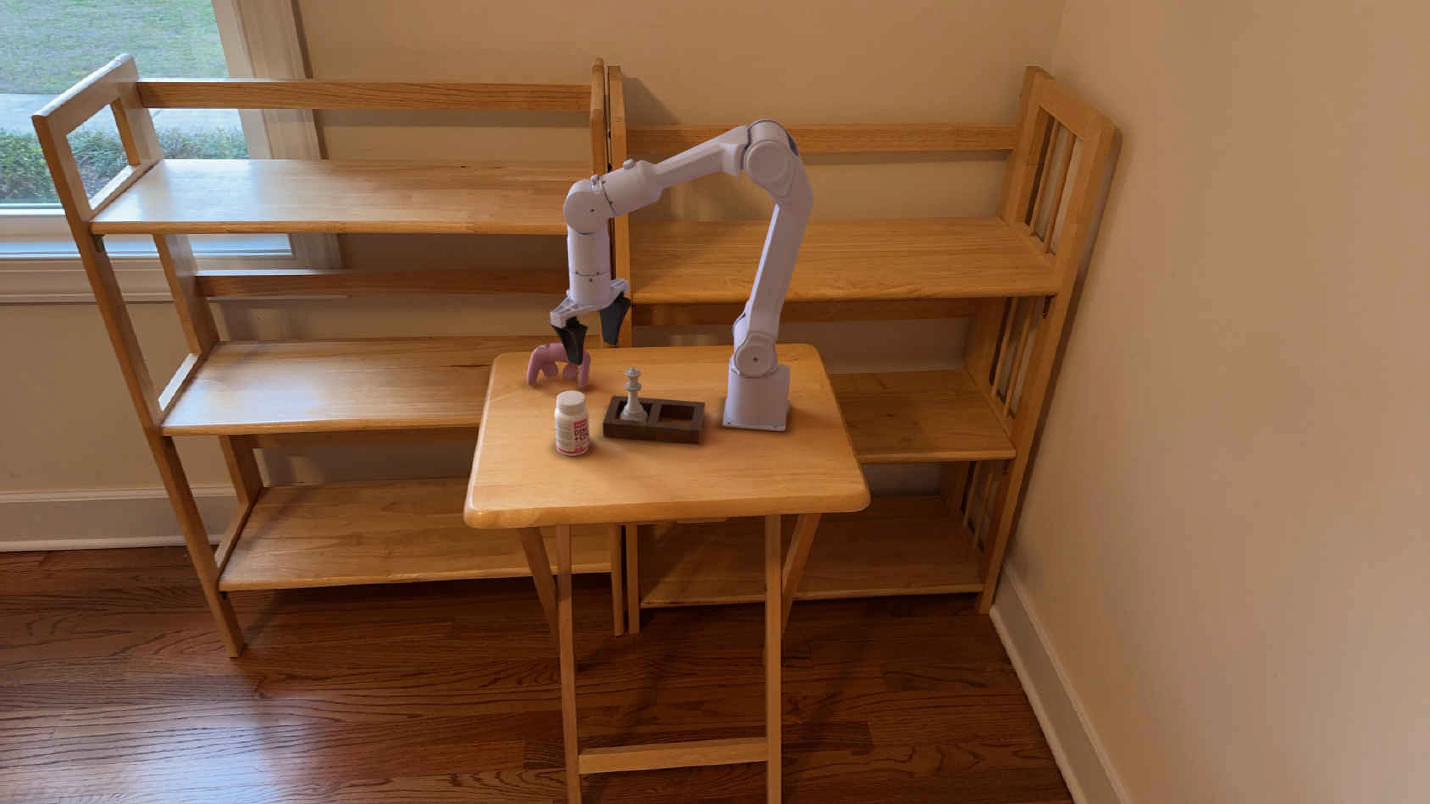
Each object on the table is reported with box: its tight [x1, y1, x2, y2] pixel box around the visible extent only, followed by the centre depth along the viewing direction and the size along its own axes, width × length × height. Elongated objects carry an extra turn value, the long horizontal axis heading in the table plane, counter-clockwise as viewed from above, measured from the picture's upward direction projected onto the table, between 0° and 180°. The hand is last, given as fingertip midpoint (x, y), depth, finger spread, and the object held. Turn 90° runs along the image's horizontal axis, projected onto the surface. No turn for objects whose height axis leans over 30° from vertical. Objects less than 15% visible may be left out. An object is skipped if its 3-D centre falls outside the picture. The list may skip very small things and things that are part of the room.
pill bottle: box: [554, 390, 590, 457], centre depth 136 cm, size 5×5×8 cm
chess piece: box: [619, 366, 649, 422], centre depth 141 cm, size 4×4×10 cm
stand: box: [602, 395, 706, 445], centre depth 142 cm, size 14×8×2 cm, turn 85°
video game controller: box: [526, 342, 592, 391], centre depth 152 cm, size 10×5×7 cm, turn 84°
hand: (593, 352), depth 141 cm, fingers open, 7 cm apart
